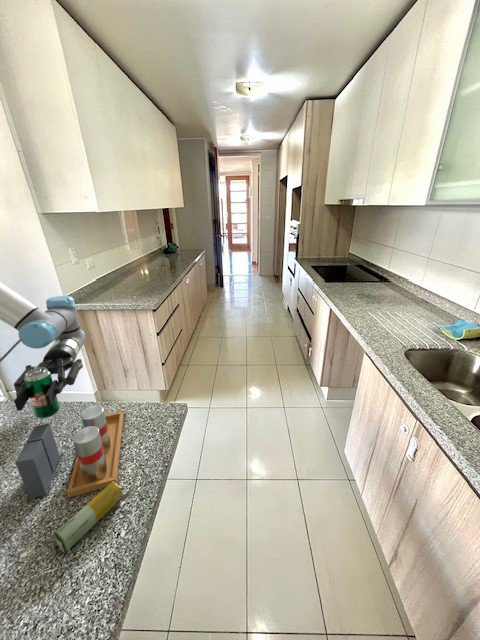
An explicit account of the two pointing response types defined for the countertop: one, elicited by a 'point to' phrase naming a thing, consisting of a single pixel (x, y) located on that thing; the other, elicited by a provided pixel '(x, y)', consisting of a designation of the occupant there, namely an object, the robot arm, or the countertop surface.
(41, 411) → the soda can
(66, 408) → the countertop surface
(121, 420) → the can tray
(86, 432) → the matching cans
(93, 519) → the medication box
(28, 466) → the grey packets
